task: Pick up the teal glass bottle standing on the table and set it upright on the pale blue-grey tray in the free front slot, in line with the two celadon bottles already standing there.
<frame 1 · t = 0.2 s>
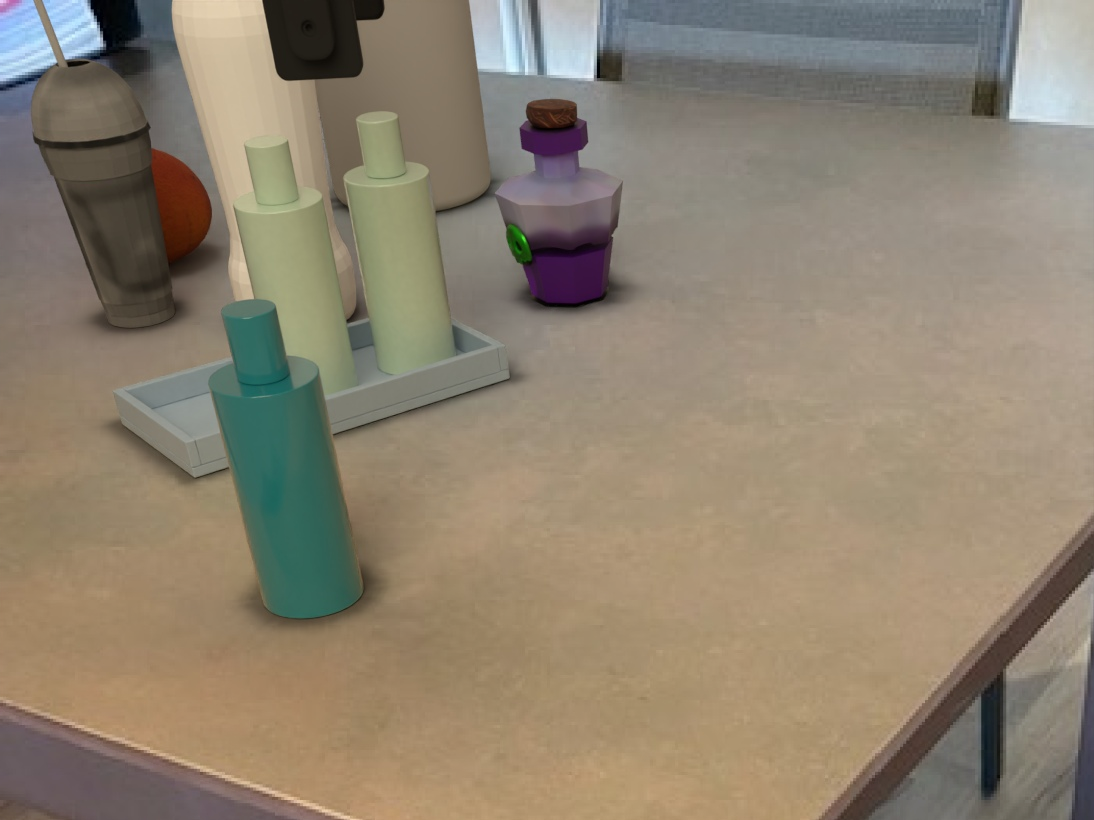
hand: (335, 46, 65), 24 cm above the table, tool pointing down, fingers open, 9 cm apart
loose bottle: (313, 594, 82), on the table
bottle b: (417, 361, 103), point 1 cm above the table, touching tray
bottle: (301, 320, 112), on the table
potion bottle: (570, 296, 114), on the table
beverage cup: (142, 318, 113), on the table
fruit: (163, 263, 121), on the table
bottle a: (317, 391, 100), point 1 cm above the table, touching tray
cylinder vase: (414, 196, 132), on the table
tray: (319, 401, 101), on the table
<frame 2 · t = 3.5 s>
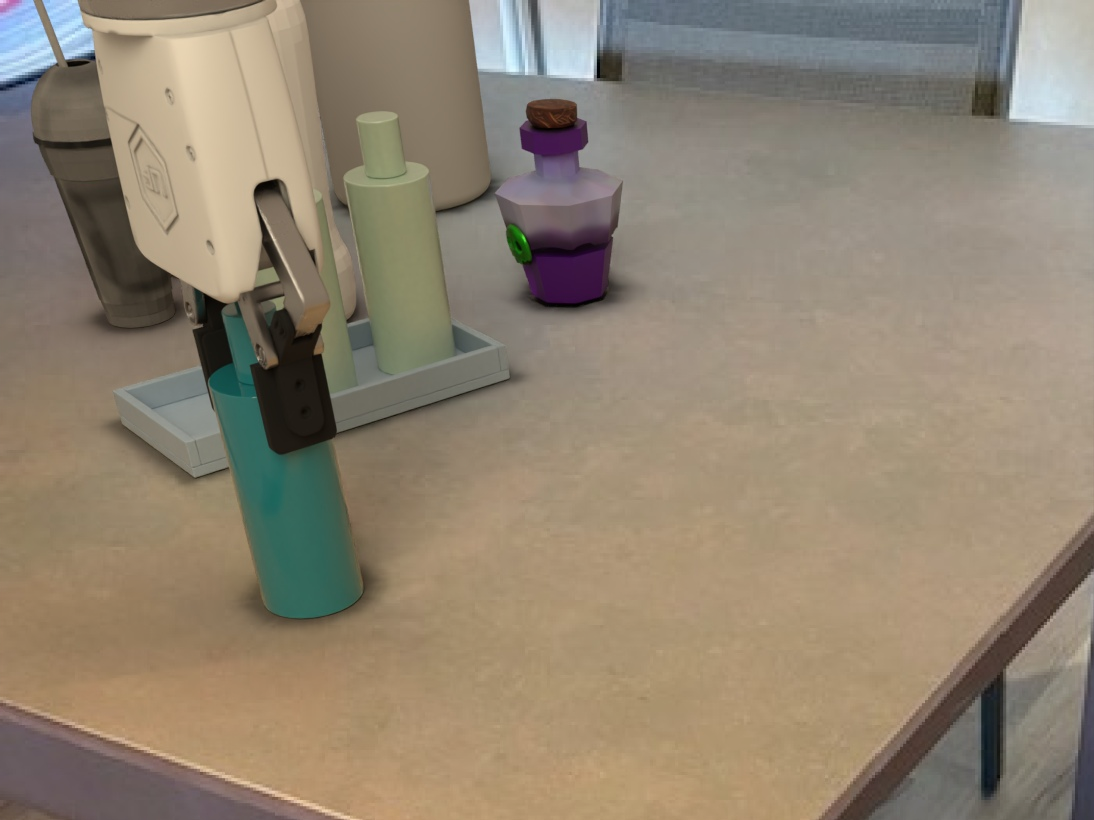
hand: (274, 421, 76), 9 cm above the table, tool pointing down, fingers closed on loose bottle, 5 cm apart
loose bottle: (313, 594, 82), on the table, touching gripper
everything else where it was.
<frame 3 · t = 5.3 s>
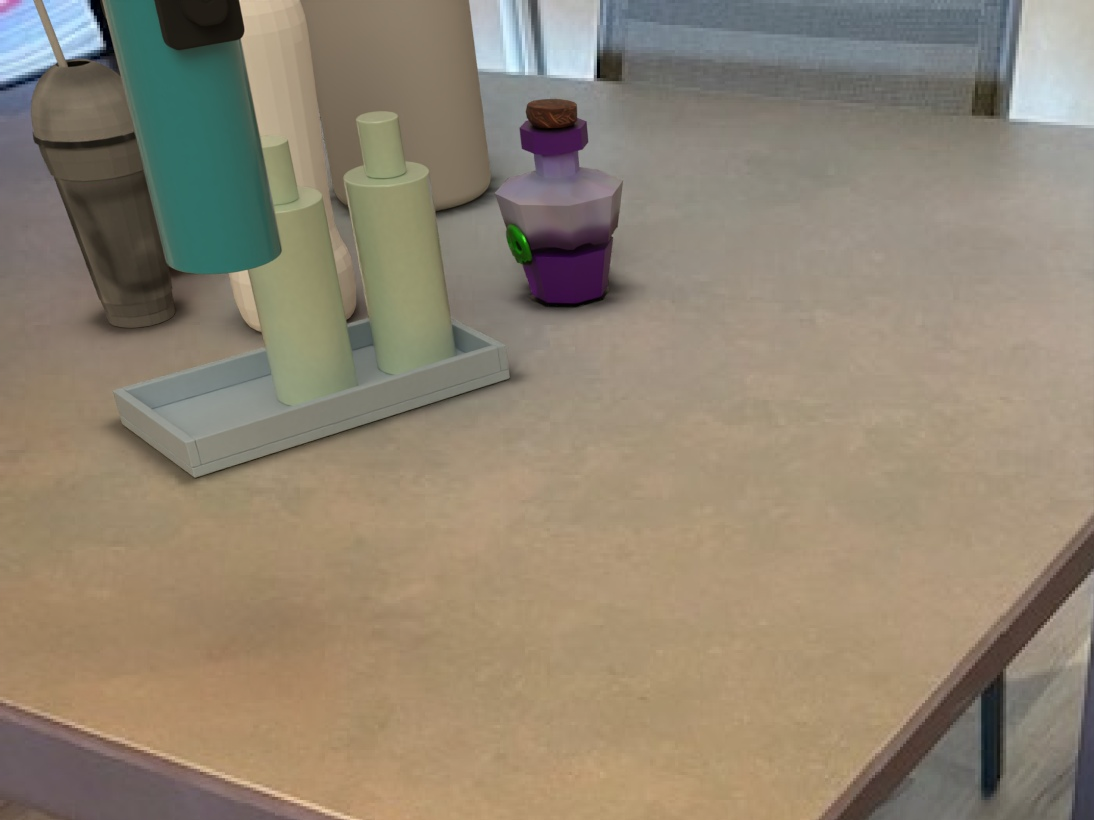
hand: (173, 25, 66), 25 cm above the table, tool pointing down, fingers closed on loose bottle, 5 cm apart
loose bottle: (224, 255, 72), point 16 cm above the table, touching gripper
everything else where it was.
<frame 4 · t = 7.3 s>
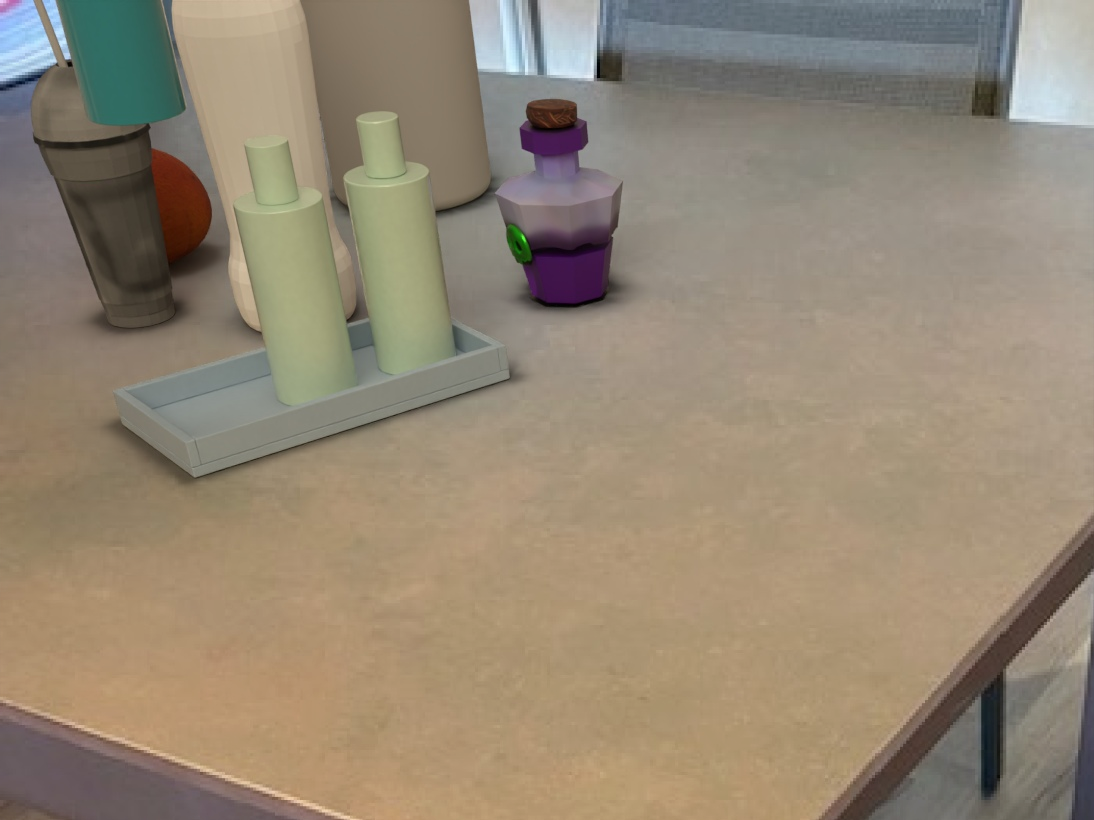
loose bottle: (137, 112, 85), point 18 cm above the table, touching gripper
everything else where it was.
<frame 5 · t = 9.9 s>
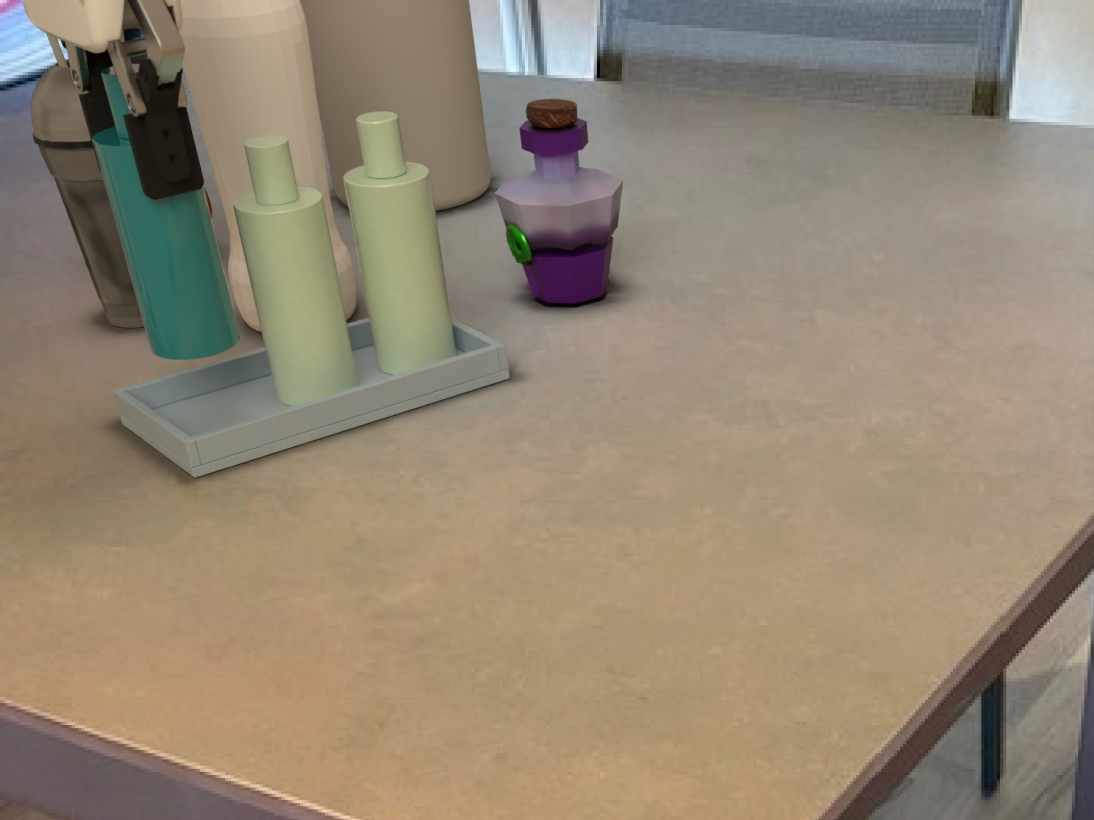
hand: (151, 178, 88), 14 cm above the table, tool pointing down, fingers closed on loose bottle, 5 cm apart
loose bottle: (195, 343, 94), point 5 cm above the table, touching gripper
everything else where it was.
when the fingers open (9 cm above the table, at t = 11.5 s): loose bottle stays where it is, resting on tray.
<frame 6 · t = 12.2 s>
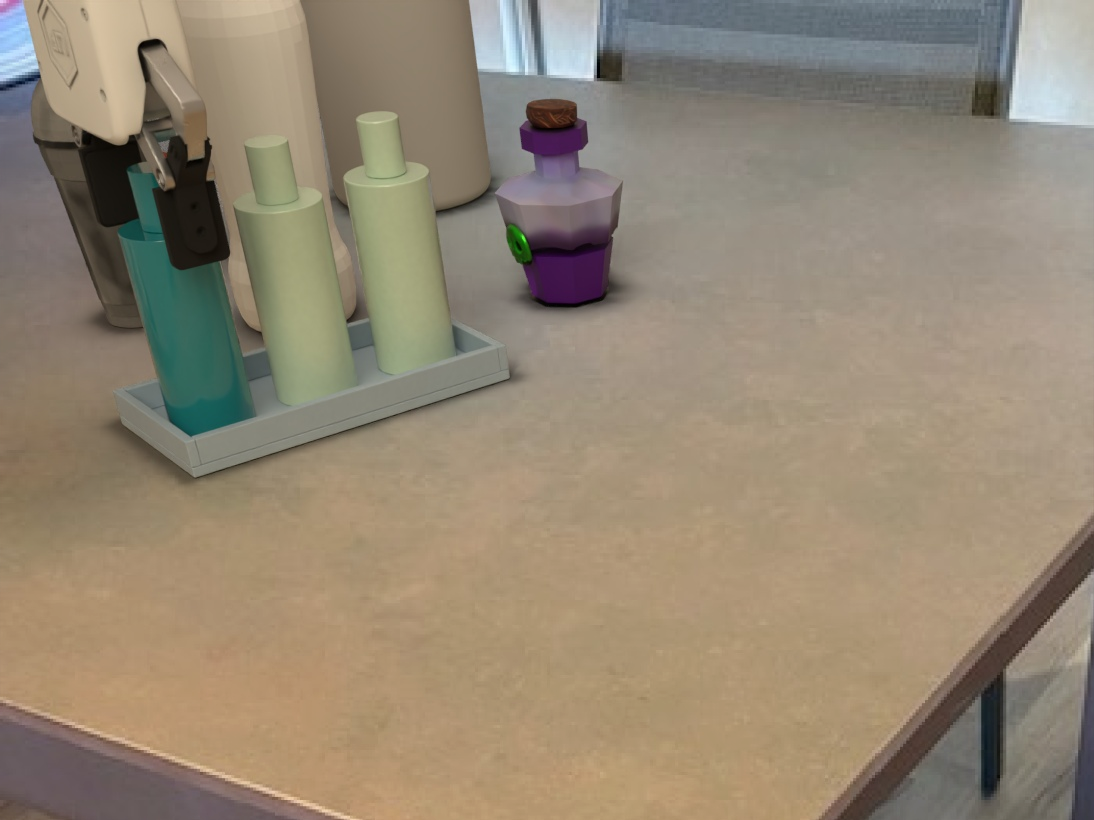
hand: (163, 241, 90), 11 cm above the table, tool pointing down, fingers open, 9 cm apart
loose bottle: (214, 423, 97), point 1 cm above the table, touching tray
everything else where it was.
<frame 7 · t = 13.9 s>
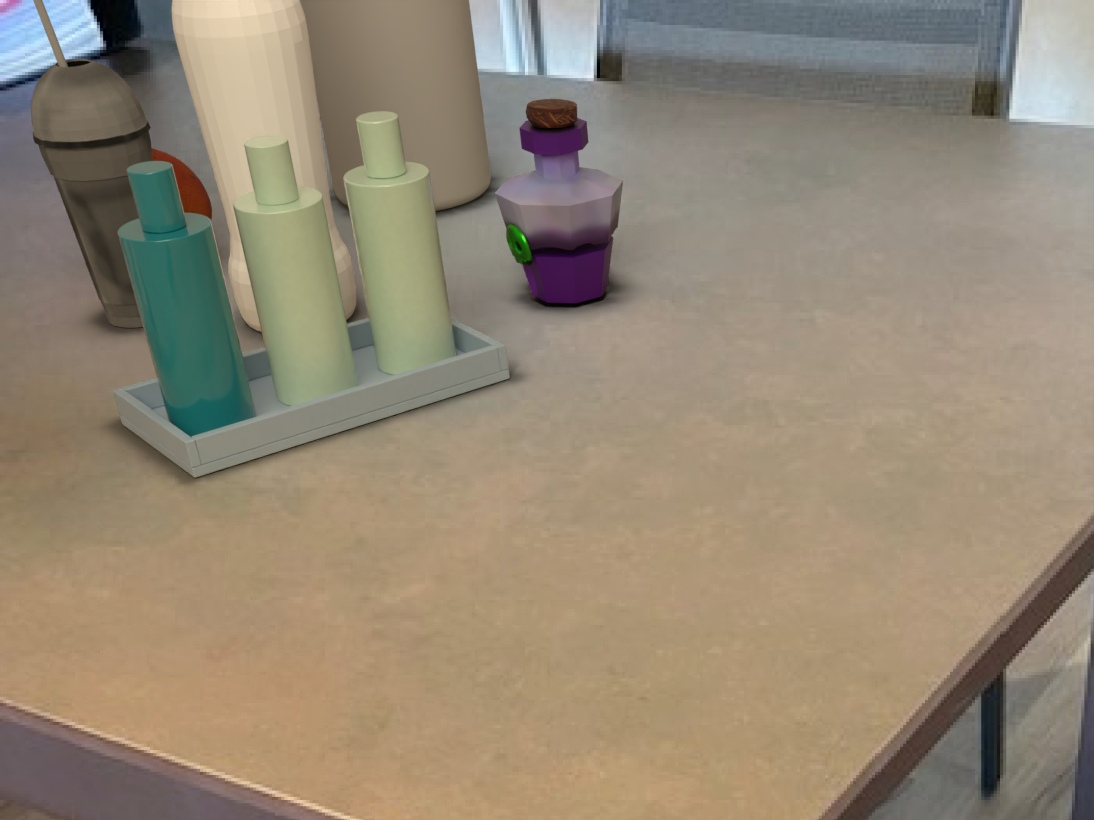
nothing on the table moved.
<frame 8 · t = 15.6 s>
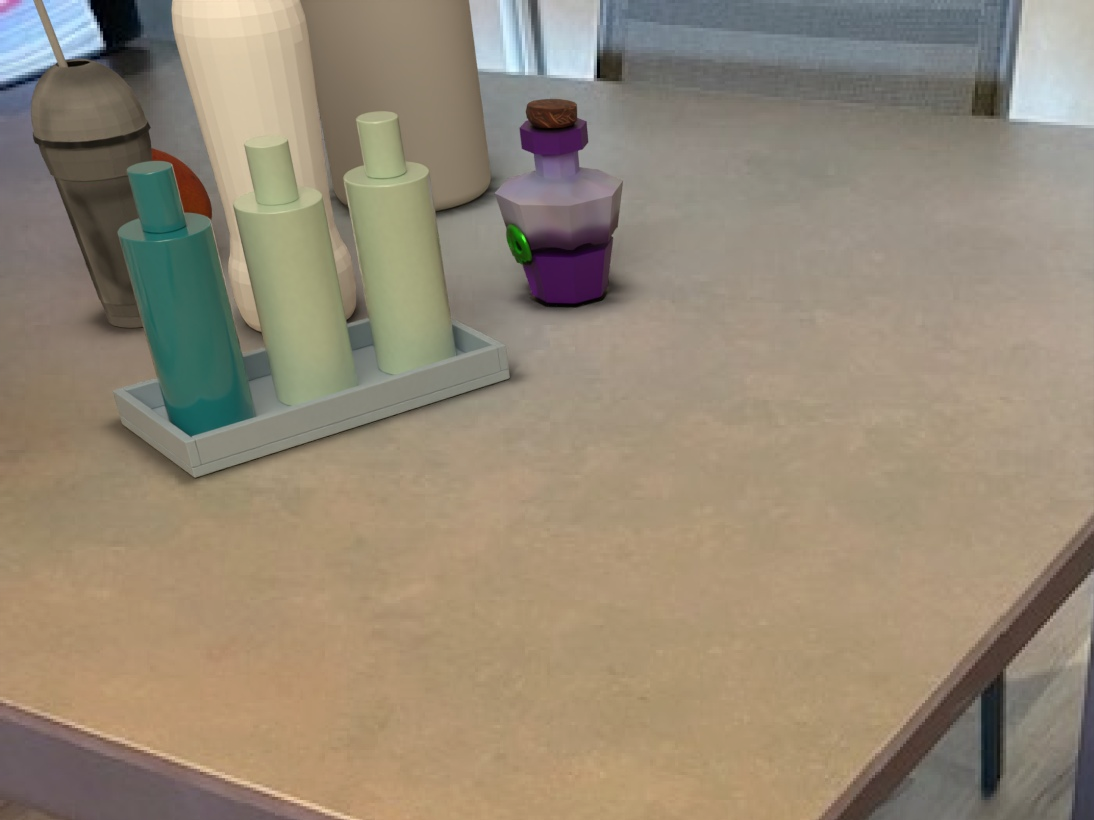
nothing on the table moved.
at the end: loose bottle 0.1 cm from the target spot in the tray, point 0.6 cm above the tray's base; loose bottle tilted 0° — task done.
